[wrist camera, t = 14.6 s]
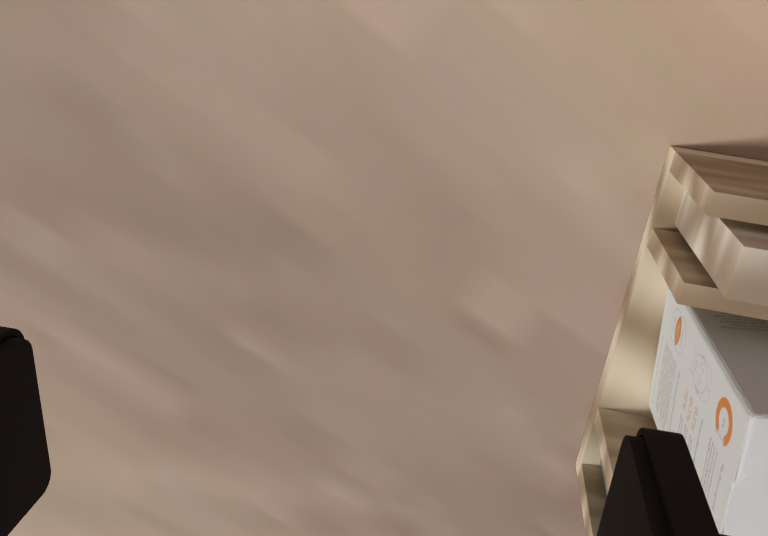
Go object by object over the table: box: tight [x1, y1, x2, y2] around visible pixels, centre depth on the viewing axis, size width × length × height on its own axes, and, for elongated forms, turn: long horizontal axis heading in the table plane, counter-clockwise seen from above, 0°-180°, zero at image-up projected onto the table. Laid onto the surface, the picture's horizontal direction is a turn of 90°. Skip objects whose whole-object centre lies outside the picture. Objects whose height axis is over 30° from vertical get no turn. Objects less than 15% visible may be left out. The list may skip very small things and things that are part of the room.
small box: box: [649, 287, 768, 536], centre depth 32 cm, size 8×6×13 cm
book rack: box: [576, 146, 768, 536], centre depth 34 cm, size 20×10×10 cm, turn 171°
